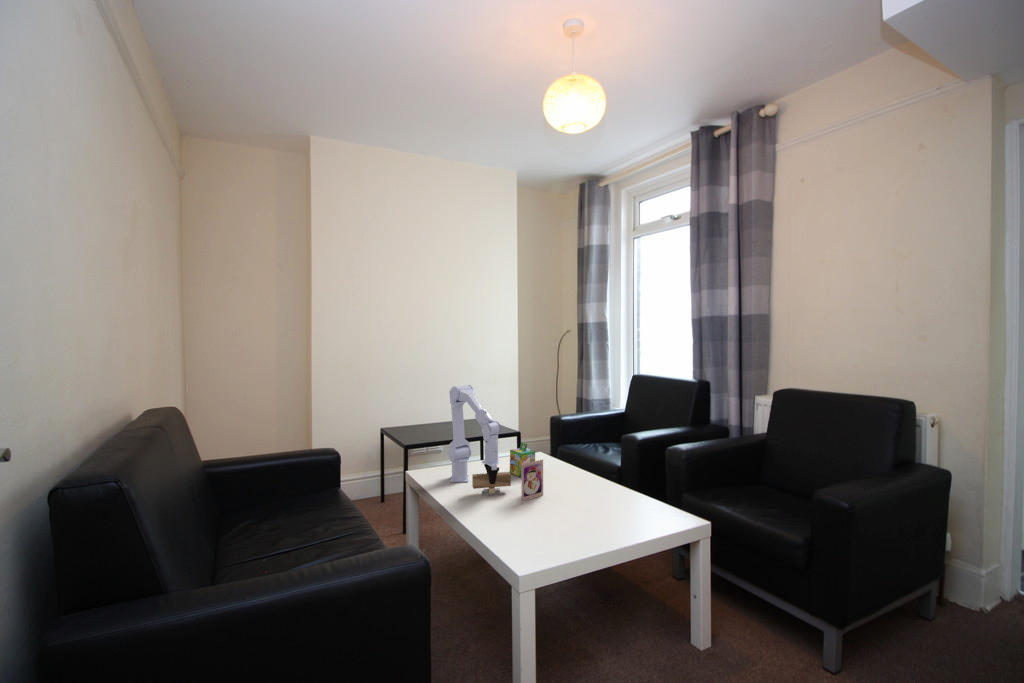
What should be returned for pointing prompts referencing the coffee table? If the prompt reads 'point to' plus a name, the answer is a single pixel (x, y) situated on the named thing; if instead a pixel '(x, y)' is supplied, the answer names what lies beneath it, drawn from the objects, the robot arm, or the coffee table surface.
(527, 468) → the greeting card
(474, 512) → the coffee table surface
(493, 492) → the fulcrum
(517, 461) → the chalk box
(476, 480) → the batten
